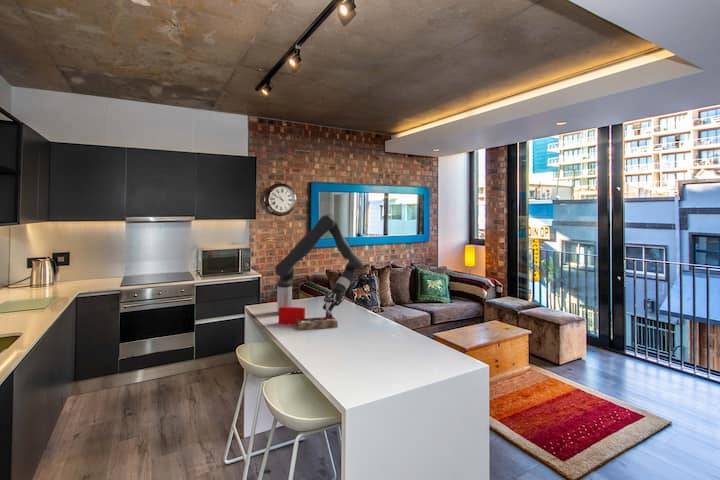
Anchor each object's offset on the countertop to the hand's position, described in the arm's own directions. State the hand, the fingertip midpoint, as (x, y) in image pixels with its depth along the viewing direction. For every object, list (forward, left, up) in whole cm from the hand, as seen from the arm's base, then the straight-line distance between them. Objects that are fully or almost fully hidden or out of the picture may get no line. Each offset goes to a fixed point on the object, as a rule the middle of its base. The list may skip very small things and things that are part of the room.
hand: (326, 309), depth 217 cm
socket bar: (0, -6, -9) cm, 11 cm away
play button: (-8, -19, -10) cm, 23 cm away
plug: (-1, +2, -5) cm, 5 cm away
